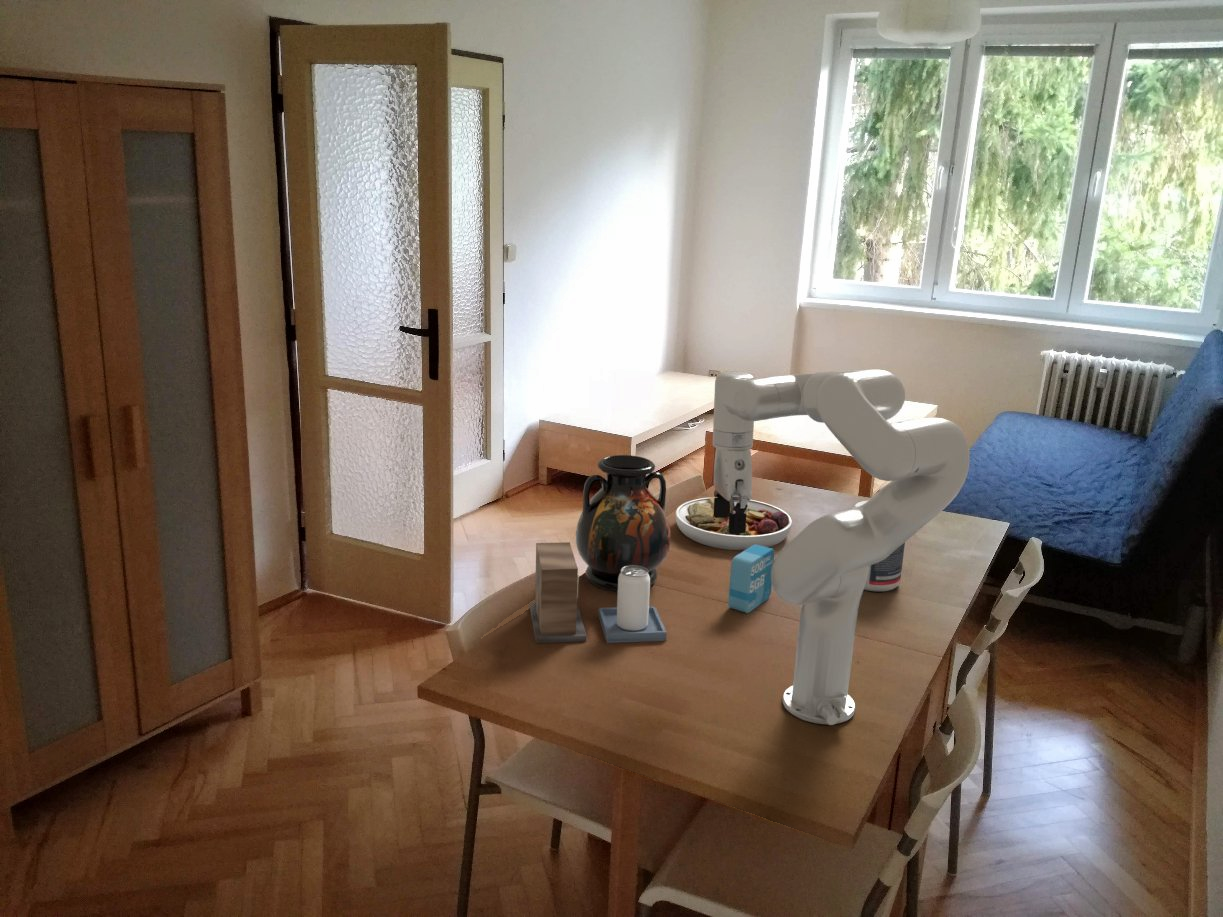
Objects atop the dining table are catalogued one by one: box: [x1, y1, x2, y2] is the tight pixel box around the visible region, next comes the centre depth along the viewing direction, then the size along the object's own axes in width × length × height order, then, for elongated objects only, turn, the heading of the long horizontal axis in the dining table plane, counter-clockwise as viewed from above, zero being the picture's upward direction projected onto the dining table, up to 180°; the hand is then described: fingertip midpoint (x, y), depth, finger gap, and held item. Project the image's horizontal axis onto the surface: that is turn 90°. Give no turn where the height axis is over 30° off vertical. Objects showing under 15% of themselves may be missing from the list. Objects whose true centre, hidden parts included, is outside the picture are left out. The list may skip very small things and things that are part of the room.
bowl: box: [675, 496, 792, 551], centre depth 257 cm, size 30×30×8 cm
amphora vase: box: [575, 454, 672, 592], centre depth 222 cm, size 22×22×28 cm
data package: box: [727, 544, 775, 614], centre depth 214 cm, size 12×4×12 cm, turn 145°
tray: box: [598, 605, 668, 644], centre depth 202 cm, size 12×12×2 cm
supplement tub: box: [853, 500, 906, 592], centre depth 227 cm, size 13×13×18 cm
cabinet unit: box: [529, 541, 587, 644], centre depth 201 cm, size 16×10×15 cm, turn 9°
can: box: [616, 565, 651, 631], centre depth 200 cm, size 6×6×12 cm
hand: (729, 524), depth 189 cm, fingers open, 9 cm apart
